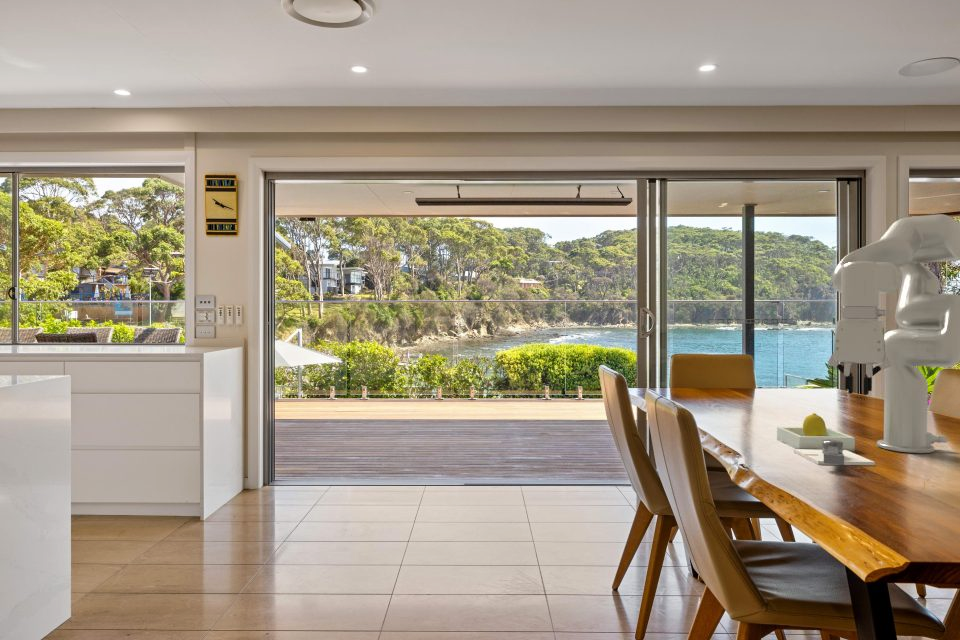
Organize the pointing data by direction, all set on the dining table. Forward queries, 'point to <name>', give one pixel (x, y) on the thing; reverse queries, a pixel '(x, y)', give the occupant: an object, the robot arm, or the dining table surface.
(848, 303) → the robot arm
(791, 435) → the tray
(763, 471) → the dining table surface
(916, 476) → the dining table surface
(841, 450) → the crank
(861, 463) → the crank board
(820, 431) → the lemon
